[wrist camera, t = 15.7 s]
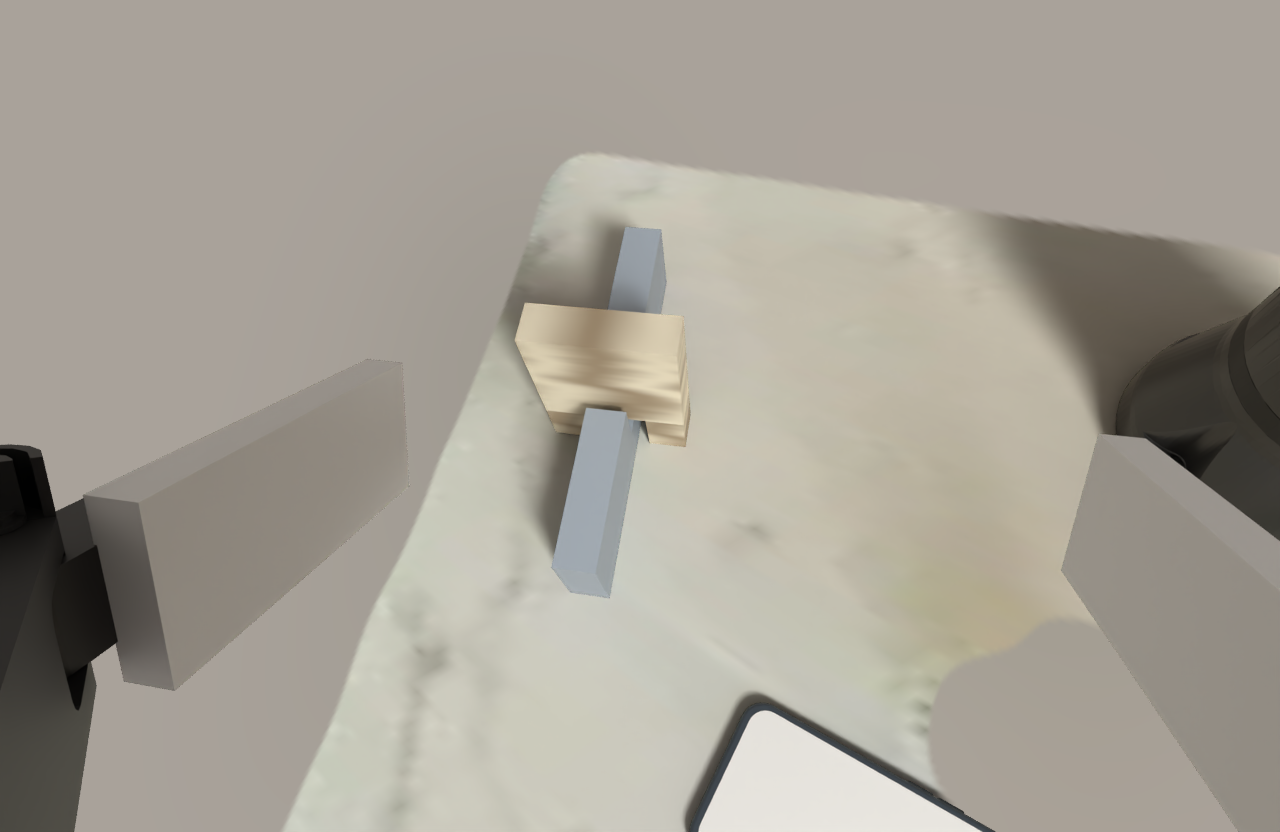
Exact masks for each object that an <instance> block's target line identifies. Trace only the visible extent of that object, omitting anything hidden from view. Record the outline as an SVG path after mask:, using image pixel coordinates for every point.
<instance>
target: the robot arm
mask: <svg viewBox="0 0 1280 832" xmlns="http://www.w3.org/2000/svg"><path fill="white" fill-rule="evenodd" d="M403 386H404V385H403V368H402V363H400V362H389V361H380V360H371V359H367V360H364V361H362V362H360V363H358V364H356V365H354V366H352V367H350V368H348V369H346V370H344V371H341V372H339V373H337V374H335V375H333V376H331V377H329V378H327V379H325V380H323V381H320V382H318V383H317V384H314V385H312V386H310V387H308V388H306V389H304V390H302V391H299V392H297V393H296V394H293V395H291V396H289V397H287V398H285V399H283V400H281V401H279V402H277V403H274V404H272V405H270V406H268V407H266V408H264V409H262V410H260V411H258V412H256V413H253V414H251V415H249V416H247V417H245V418H243V419H241V420H239V421H237V422H235V423H232V424H230V425H228V426H226V427H224V428H222V429H220V430H218V431H216V432H214V433H212V434H209V435H207V436H205V437H203V438H201V439H199V440H197V441H195V442H193V443H191V444H189V445H186V446H184V447H182V448H180V449H178V450H176V451H174V452H172V453H170V454H167V455H165V456H163V457H162V458H159V459H157V460H155V461H153V462H151V463H149V464H147V465H144V466H142V467H140V468H138V469H136V470H134V471H132V472H130V473H128V474H126V475H123V476H121V477H119V478H117V479H115V480H113V481H111V482H109V483H107V484H105V485H103V486H100V487H99V488H96V489H94V490H92V491H90V492H88V493H86V494H84V495H83V499H81V500H79V501H77V502H75V503H73V504H71V505H68V506H66V507H64V508H62V509H60V510H58V511H55V507H54V503H53V499H52V494H51V490H50V486H49V482H48V478H47V473H46V469H45V465H44V461H43V456H42V453H41V450H39V449H36V448H33V447H31V446H23V445H0V832H74V829H75V823H76V816H77V810H78V803H79V797H80V790H81V784H82V777H83V771H84V764H85V758H86V751H87V744H88V738H89V731H90V725H91V718H92V712H93V705H94V699H95V692H96V681H95V677H94V673H93V668H92V664H91V661H92V660H93V659H95V658H96V657H97V656H99V655H100V654H101V653H103V652H104V651H106V650H107V649H109V648H110V647H111V646H113V645H114V644H115V643H116V647H117V652H118V656H119V661H120V665H121V670H122V674H123V678H124V682H129V683H135V684H140V685H146V686H152V687H157V688H162V689H168V690H173V691H175V690H176V689H177V688H178V687H180V686H181V685H182V684H183V683H184V682H185V681H187V680H188V679H189V678H190V677H191V676H192V675H193V674H195V673H196V672H197V671H198V670H199V669H200V668H201V667H203V666H204V665H205V664H206V663H207V662H208V661H210V660H211V659H212V658H213V657H214V656H215V655H216V654H217V653H219V652H220V651H221V650H222V649H223V648H224V647H226V646H227V645H228V644H229V643H230V642H231V641H233V640H234V639H235V638H236V637H237V636H238V635H239V634H241V633H242V632H243V631H244V630H245V629H246V628H247V627H248V626H249V625H251V624H252V623H253V622H254V621H255V620H257V619H258V618H259V617H260V616H261V615H262V614H264V613H265V612H266V611H267V610H268V609H269V608H270V607H272V606H273V605H274V604H275V603H276V602H277V601H278V600H279V599H281V598H282V597H283V596H284V595H285V594H286V593H288V592H289V591H290V590H291V589H292V588H293V587H294V586H296V585H297V584H298V583H299V582H300V581H301V580H303V579H304V578H305V577H306V576H307V575H308V574H309V573H311V572H312V571H313V570H314V569H315V568H316V567H317V566H319V565H320V564H321V563H322V562H323V561H324V560H325V559H327V558H328V557H329V556H330V555H331V554H332V553H333V552H335V551H336V550H337V549H338V548H339V547H340V546H342V545H343V544H344V543H345V542H346V541H347V540H348V539H349V538H351V537H352V536H353V535H354V534H355V533H356V532H358V531H359V530H360V529H361V528H362V527H363V526H364V525H365V524H367V523H368V522H369V521H370V520H371V519H372V518H374V517H375V516H376V515H377V514H378V513H379V512H381V511H382V510H383V509H384V508H385V507H386V506H387V505H389V504H390V503H391V502H392V501H393V500H394V499H395V498H397V497H398V496H399V495H400V494H401V493H402V492H403V491H405V490H406V489H407V488H408V487H409V470H408V453H407V436H406V420H405V403H404V387H403ZM1116 431H1117V435H1107V434H1098V437H1097V441H1096V444H1095V448H1094V452H1093V455H1092V459H1091V463H1090V466H1089V470H1088V474H1087V477H1086V481H1085V485H1084V488H1083V492H1082V496H1081V499H1080V503H1079V507H1078V510H1077V514H1076V518H1075V521H1074V525H1073V529H1072V532H1071V536H1070V540H1069V543H1068V547H1067V551H1066V554H1065V558H1064V562H1063V565H1062V569H1061V571H1062V572H1063V574H1064V575H1065V577H1066V578H1067V580H1068V581H1069V583H1070V584H1071V586H1072V587H1073V589H1074V590H1075V592H1076V593H1077V595H1078V596H1079V597H1080V599H1081V600H1082V602H1083V603H1084V605H1085V606H1086V608H1087V609H1088V611H1089V612H1090V614H1091V615H1092V617H1093V618H1094V620H1095V621H1096V623H1097V624H1098V625H1099V627H1100V628H1101V630H1102V631H1103V633H1104V634H1105V636H1106V637H1107V639H1108V640H1109V642H1110V643H1111V645H1112V646H1113V648H1114V649H1115V650H1116V652H1117V653H1118V655H1119V656H1120V658H1121V659H1122V661H1123V662H1124V663H1125V665H1126V667H1127V668H1128V670H1129V671H1130V673H1131V674H1132V676H1133V677H1134V678H1135V680H1136V681H1137V683H1138V684H1139V686H1140V687H1141V689H1142V690H1143V692H1144V693H1145V695H1146V696H1147V698H1148V699H1149V700H1150V702H1151V704H1152V705H1153V706H1154V708H1155V709H1156V711H1157V712H1158V714H1159V715H1160V717H1161V718H1162V720H1163V721H1164V723H1165V724H1166V726H1167V727H1168V728H1169V730H1170V732H1171V733H1172V735H1173V736H1174V738H1175V739H1176V740H1177V742H1178V743H1179V745H1180V746H1181V748H1182V749H1183V751H1184V752H1185V754H1186V755H1187V757H1188V758H1189V759H1190V761H1191V762H1192V764H1193V765H1194V767H1195V768H1196V770H1197V771H1198V773H1199V774H1200V776H1201V777H1202V779H1203V780H1204V782H1205V783H1206V785H1207V786H1208V788H1209V789H1210V791H1211V792H1212V794H1213V795H1214V797H1215V798H1216V799H1217V801H1218V802H1219V804H1220V805H1221V807H1222V808H1223V810H1224V811H1225V813H1226V814H1227V816H1228V817H1229V819H1230V820H1231V821H1232V823H1233V825H1234V826H1235V827H1236V829H1237V830H1238V832H1280V287H1279V288H1277V289H1276V290H1275V291H1274V292H1273V293H1272V294H1271V295H1269V296H1268V297H1267V298H1266V299H1265V300H1264V301H1263V302H1262V303H1261V304H1259V305H1258V306H1257V307H1256V308H1255V309H1254V310H1253V311H1251V312H1250V313H1249V314H1248V315H1246V316H1243V317H1240V318H1238V319H1235V320H1233V321H1230V322H1227V323H1225V324H1222V325H1220V326H1217V327H1215V328H1212V329H1210V330H1207V331H1205V332H1202V333H1199V334H1195V335H1192V336H1189V337H1186V338H1184V339H1182V340H1179V341H1177V342H1175V343H1174V344H1172V345H1170V346H1169V347H1167V348H1166V349H1164V350H1163V351H1161V352H1160V353H1159V354H1157V355H1156V356H1155V357H1154V358H1153V359H1152V360H1151V361H1150V362H1149V363H1148V364H1147V365H1146V366H1145V367H1144V368H1142V369H1141V370H1140V371H1139V372H1138V373H1137V374H1136V375H1135V377H1134V378H1133V379H1132V380H1131V382H1130V383H1129V384H1128V386H1127V388H1126V389H1125V391H1124V393H1123V395H1122V398H1121V400H1120V404H1119V407H1118V412H1117V421H1116Z"/></svg>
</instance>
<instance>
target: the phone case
mask: <svg viewBox="0 0 1280 832" xmlns="http://www.w3.org/2000/svg"><path fill="white" fill-rule="evenodd" d="M690 832H995V831H993V830H992V829H990V828H988V827H986V826H984V825H983V824H981V823H979V822H978V821H976V820H974V819H972V818H971V817H969V816H967V815H965V814H964V812H963V811H962V810H960V809H958V808H957V807H955V806H953V805H951V804H949V803H948V802H946V801H944V800H942V799H940V798H935V797H934V796H933V794H932V793H930V792H928V791H927V790H925V789H923V788H921V787H920V786H918V785H916V784H914V783H912V782H911V781H905V780H904V779H902V778H900V777H898V776H897V775H895V774H893V773H891V772H890V771H888V770H886V769H884V768H883V767H881V766H879V765H877V764H876V763H874V762H872V761H870V760H868V759H867V758H865V757H863V756H861V755H860V754H858V753H856V752H854V751H853V750H851V749H849V748H847V747H846V746H844V745H842V744H840V743H839V742H837V741H835V740H833V739H832V738H830V737H828V736H826V735H824V734H823V733H821V732H819V731H817V730H816V729H814V728H812V727H810V726H809V725H807V724H805V723H803V722H802V721H800V720H798V719H796V718H795V717H793V716H791V715H789V714H788V713H786V712H784V711H782V710H780V709H779V708H777V707H775V706H773V705H771V704H768V703H756V704H754V705H751V706H750V707H749V708H747V709H746V711H745V712H744V713H743V715H742V717H741V719H740V721H739V723H738V725H737V727H736V730H735V732H734V734H733V736H732V738H731V740H730V742H729V744H728V746H727V748H726V751H725V753H724V755H723V757H722V759H721V761H720V763H719V765H718V767H717V769H716V771H715V774H714V776H713V778H712V780H711V782H710V784H709V786H708V788H707V790H706V792H705V795H704V797H703V799H702V801H701V803H700V805H699V807H698V809H697V811H696V813H695V815H694V818H693V820H692V822H691V825H690Z"/></svg>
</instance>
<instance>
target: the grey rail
mask: <svg viewBox="0 0 1280 832" xmlns="http://www.w3.org/2000/svg"><path fill="white" fill-rule="evenodd" d="M665 287H666V273H665V263H664V253H663V243H662V233H661V229H648V228H633V227H625V231H624V235H623V240H622V245H621V249H620V254H619V259H618V263H617V268H616V272H615V277H614V282H613V286H612V291H611V295H610V300H609V305H608V309H607V310H617V311H628V312H640V313H651V314H661V309H662V304H663V298H664V293H665ZM640 426H641V421H639V420H630V419H628V417H627V413H626V412H620V411H611V410H602V409H592V408H586V411H585V415H584V420H583V424H582V429H581V434H580V438H579V443H578V447H577V452H576V457H575V461H574V466H573V471H572V475H571V480H570V484H569V489H568V494H567V498H566V503H565V507H564V512H563V517H562V521H561V526H560V530H559V535H558V540H557V544H556V549H555V553H554V558H553V563H552V567H551V568H552V569H553V570H554V571H555V573H556V574H557V575H558V577H559V578H560V579H561V581H562V582H563V583H564V584H565V586H566V587H567V588H568V590H569V591H570V592H572V593H579V594H586V595H592V596H599V597H606V598H610V593H611V587H612V581H613V576H614V570H615V565H616V559H617V554H618V548H619V543H620V537H621V531H622V526H623V520H624V515H625V509H626V504H627V498H628V493H629V487H630V481H631V476H632V470H633V465H634V459H635V454H636V448H637V443H638V437H639V431H640Z"/></svg>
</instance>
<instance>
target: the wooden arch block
mask: <svg viewBox="0 0 1280 832" xmlns="http://www.w3.org/2000/svg"><path fill="white" fill-rule="evenodd" d="M515 342H516V345H517V347H518V349H519V351H520V353H521V356H522V358H523V360H524V362H525V364H526V367H527V369H528V371H529V373H530V375H531V377H532V380H533V382H534V384H535V386H536V388H537V391H538V393H539V395H540V397H541V399H542V402H543V404H544V406H545V408H546V410H547V413H548V415H549V417H550V419H551V421H552V424H553V426H554V428H555V430H556V432H558V433H567V434H576V435H580V434H581V429H582V424H583V420H584V415H585V411H586V408H592V409H602V410H611V411H620V412H626V413H627V417H628V419H630V420H639V421H645V422H646V427H647V432H648V437H649V442H650V443H655V444H664V445H673V446H682V447H686V440H687V433H688V427H689V420H690V401H689V387H688V373H687V358H686V344H685V330H684V316H675V315H663V314H651V313H640V312H628V311H617V310H605V309H593V308H582V307H570V306H559V305H547V304H535V303H525V304H524V308H523V311H522V315H521V319H520V322H519V326H518V330H517V333H516V337H515Z"/></svg>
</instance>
